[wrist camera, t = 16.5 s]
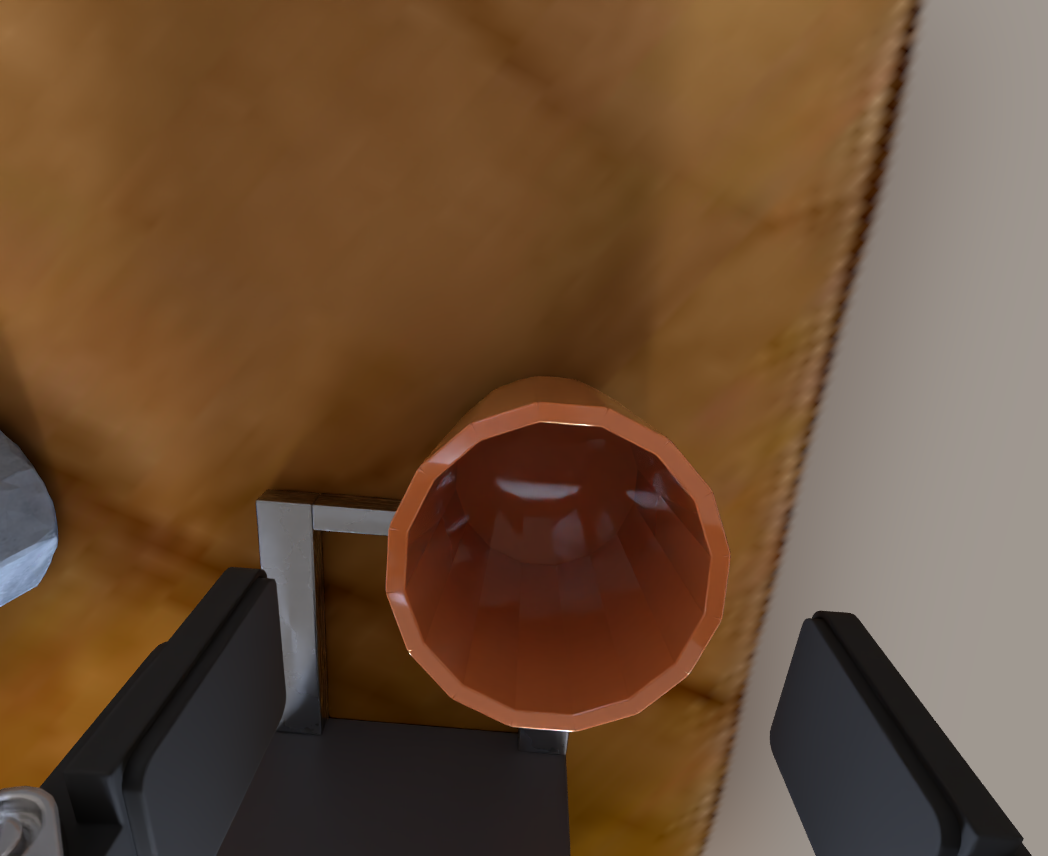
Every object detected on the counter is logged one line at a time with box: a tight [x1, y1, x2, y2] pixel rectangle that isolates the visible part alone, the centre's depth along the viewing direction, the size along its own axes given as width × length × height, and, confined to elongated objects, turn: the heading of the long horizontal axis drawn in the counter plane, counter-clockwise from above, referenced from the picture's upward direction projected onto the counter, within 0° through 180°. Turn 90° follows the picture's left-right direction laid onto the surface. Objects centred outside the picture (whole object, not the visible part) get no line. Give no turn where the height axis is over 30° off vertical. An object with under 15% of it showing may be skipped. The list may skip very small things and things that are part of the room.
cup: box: [385, 376, 731, 732], centre depth 17 cm, size 7×7×9 cm
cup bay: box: [256, 489, 569, 755], centre depth 23 cm, size 10×12×1 cm
